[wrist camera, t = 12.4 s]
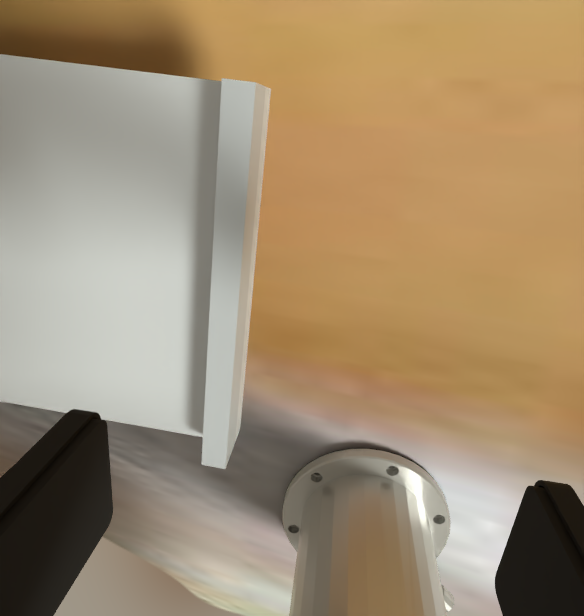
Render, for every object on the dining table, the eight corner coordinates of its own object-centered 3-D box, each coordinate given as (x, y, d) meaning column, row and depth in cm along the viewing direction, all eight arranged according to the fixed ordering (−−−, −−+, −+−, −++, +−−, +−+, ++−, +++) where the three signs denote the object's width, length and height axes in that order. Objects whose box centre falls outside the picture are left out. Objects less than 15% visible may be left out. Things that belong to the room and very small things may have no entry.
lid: (270, 88, 19) (255, 82, 16) (240, 429, 25) (225, 469, 22) (-72, 46, 20) (-145, 33, 17) (-17, 384, 26) (-64, 416, 23)
